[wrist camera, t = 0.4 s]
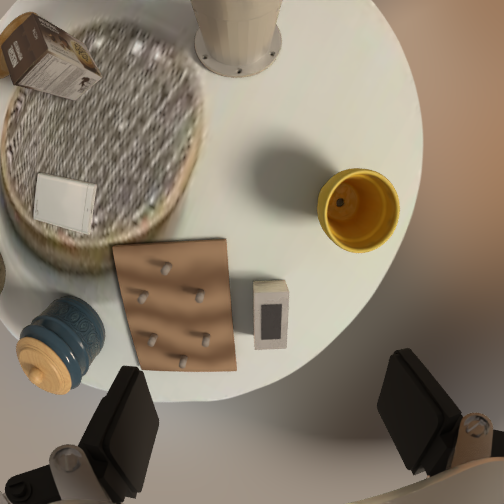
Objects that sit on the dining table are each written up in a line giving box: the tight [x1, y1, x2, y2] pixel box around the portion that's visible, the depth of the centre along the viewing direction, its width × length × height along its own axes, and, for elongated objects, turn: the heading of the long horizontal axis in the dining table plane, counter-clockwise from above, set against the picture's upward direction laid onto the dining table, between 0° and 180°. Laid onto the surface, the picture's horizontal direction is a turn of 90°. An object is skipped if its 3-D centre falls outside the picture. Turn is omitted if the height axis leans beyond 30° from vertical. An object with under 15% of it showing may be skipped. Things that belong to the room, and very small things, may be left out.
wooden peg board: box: [112, 239, 237, 372], centre depth 45 cm, size 24×18×4 cm
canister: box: [16, 296, 105, 395], centre depth 39 cm, size 13×13×18 cm
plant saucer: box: [0, 12, 38, 79], centre depth 29 cm, size 15×15×3 cm
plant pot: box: [317, 168, 400, 253], centre depth 37 cm, size 10×10×10 cm
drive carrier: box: [253, 280, 289, 350], centre depth 45 cm, size 10×5×5 cm, turn 1°
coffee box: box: [1, 13, 102, 101], centre depth 26 cm, size 9×6×16 cm
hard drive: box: [34, 173, 97, 235], centre depth 40 cm, size 2×8×12 cm
